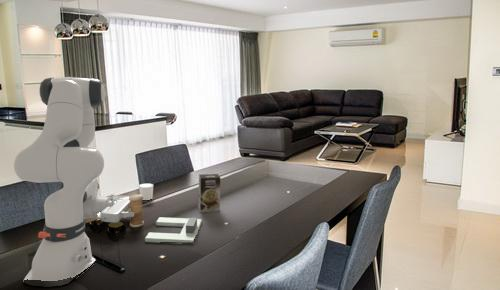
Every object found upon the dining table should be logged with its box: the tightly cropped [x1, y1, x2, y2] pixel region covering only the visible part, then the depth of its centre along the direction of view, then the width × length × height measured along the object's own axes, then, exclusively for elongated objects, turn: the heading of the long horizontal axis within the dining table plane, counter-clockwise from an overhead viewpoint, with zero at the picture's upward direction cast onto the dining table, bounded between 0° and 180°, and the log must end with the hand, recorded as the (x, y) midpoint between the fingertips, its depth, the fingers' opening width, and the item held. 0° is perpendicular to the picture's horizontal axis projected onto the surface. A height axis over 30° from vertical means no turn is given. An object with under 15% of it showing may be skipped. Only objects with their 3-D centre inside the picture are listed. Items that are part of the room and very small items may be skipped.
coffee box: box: [197, 173, 221, 213], centre depth 179 cm, size 9×6×16 cm
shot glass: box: [138, 182, 154, 201], centre depth 191 cm, size 7×7×7 cm
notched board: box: [144, 217, 203, 243], centre depth 156 cm, size 20×18×4 cm
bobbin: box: [128, 194, 145, 228], centre depth 161 cm, size 6×6×12 cm
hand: (138, 209), depth 161 cm, fingers open, 8 cm apart
